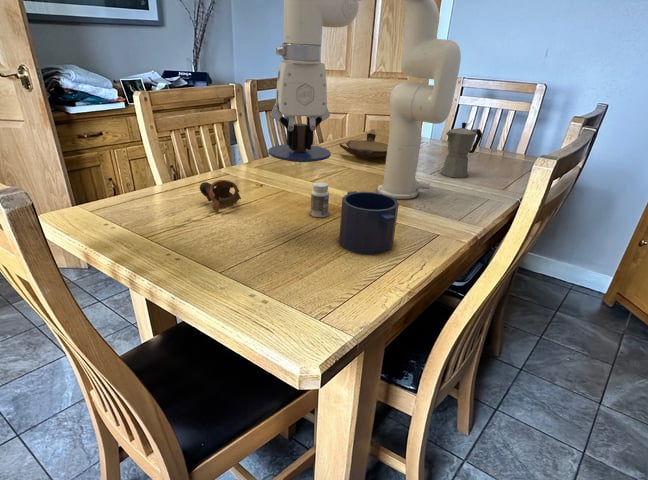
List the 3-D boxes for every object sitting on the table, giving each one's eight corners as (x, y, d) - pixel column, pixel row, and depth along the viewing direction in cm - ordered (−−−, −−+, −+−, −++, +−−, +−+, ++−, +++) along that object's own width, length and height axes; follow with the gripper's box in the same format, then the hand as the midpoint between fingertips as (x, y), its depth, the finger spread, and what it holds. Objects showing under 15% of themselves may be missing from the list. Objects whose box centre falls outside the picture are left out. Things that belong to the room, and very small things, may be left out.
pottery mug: (245, 202, 125) (246, 183, 118) (232, 226, 120) (231, 207, 113) (206, 188, 125) (205, 167, 118) (191, 211, 121) (188, 191, 114)
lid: (315, 148, 106) (317, 118, 102) (340, 162, 95) (343, 129, 91) (260, 150, 100) (260, 119, 97) (280, 166, 90) (280, 132, 86)
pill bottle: (326, 218, 116) (327, 187, 112) (308, 216, 117) (309, 185, 113) (329, 212, 120) (331, 182, 116) (312, 210, 121) (313, 180, 117)
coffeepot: (447, 179, 153) (457, 125, 144) (431, 172, 161) (440, 120, 152) (481, 176, 159) (494, 124, 150) (464, 169, 166) (475, 119, 157)
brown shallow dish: (328, 158, 171) (329, 138, 167) (362, 145, 193) (363, 127, 189) (380, 168, 161) (382, 147, 157) (409, 153, 184) (412, 134, 180)
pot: (370, 225, 114) (374, 186, 108) (409, 255, 100) (416, 211, 94) (326, 231, 109) (328, 190, 104) (360, 263, 95) (365, 218, 90)
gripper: (266, 54, 82) (267, 154, 91) (346, 57, 87) (340, 151, 96) (258, 52, 88) (259, 145, 97) (333, 55, 93) (328, 144, 102)
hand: (299, 147), depth 97 cm, fingers closed on lid, 2 cm apart
